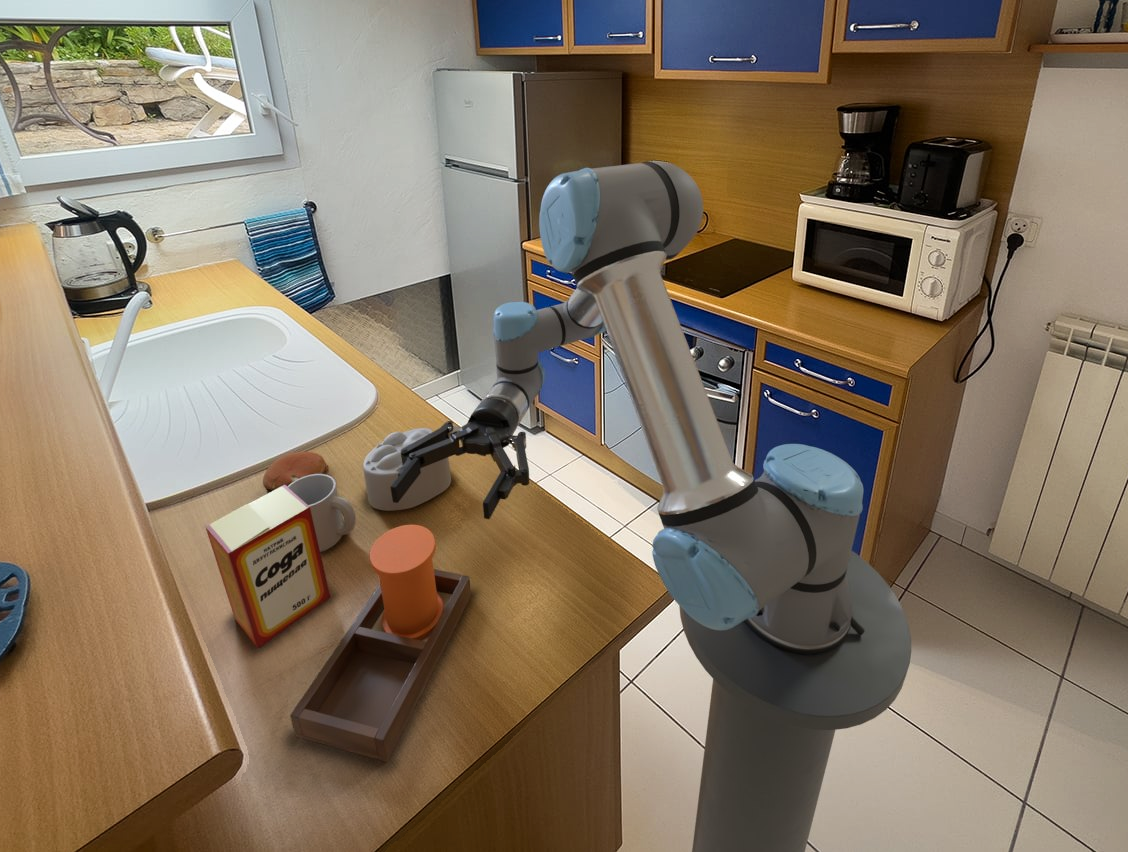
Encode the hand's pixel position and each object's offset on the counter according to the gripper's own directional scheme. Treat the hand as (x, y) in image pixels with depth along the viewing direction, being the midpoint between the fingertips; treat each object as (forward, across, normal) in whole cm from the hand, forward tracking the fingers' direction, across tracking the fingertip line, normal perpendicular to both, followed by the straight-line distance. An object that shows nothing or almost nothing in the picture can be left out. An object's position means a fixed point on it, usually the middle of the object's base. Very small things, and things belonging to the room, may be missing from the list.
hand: (439, 503), depth 81 cm
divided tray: (+14, 0, -12) cm, 18 cm away
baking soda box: (+11, +18, -12) cm, 24 cm away
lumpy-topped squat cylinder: (-14, +14, -12) cm, 23 cm away
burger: (-10, +32, -12) cm, 36 cm away
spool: (+9, 0, -11) cm, 14 cm away
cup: (-1, +20, -12) cm, 23 cm away
